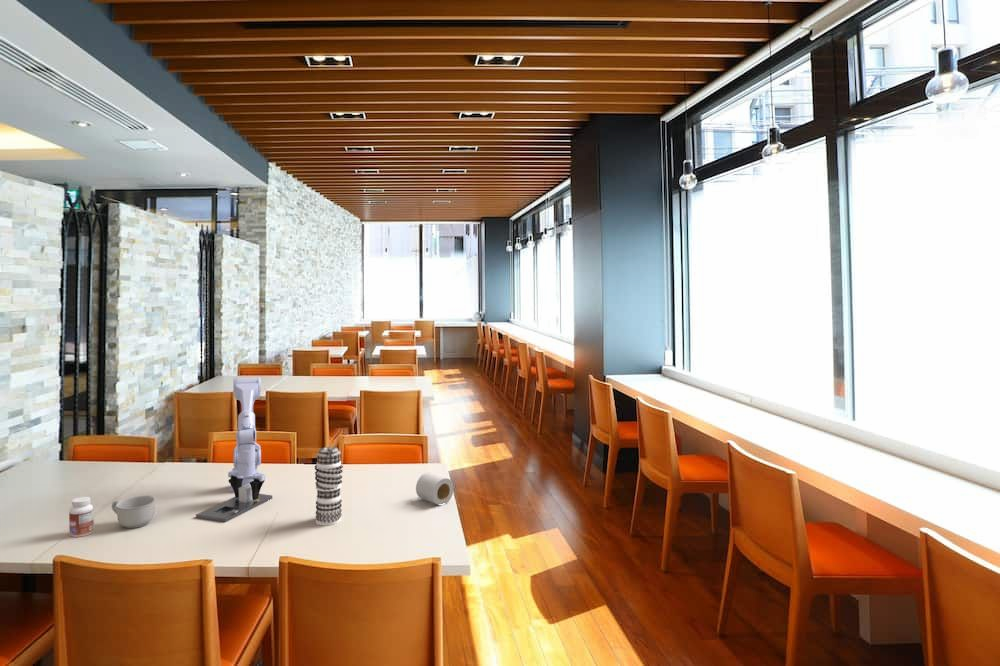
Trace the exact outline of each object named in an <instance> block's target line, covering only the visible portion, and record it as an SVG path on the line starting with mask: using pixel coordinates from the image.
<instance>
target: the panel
mask: <svg viewBox="0 0 1000 666" xmlns="http://www.w3.org/2000/svg"><path fill="white" fill-rule="evenodd" d="M270 499H271V500H273V495H271V494H264V493H259V496H258V499H256V500H251V501H249V502H247V503H244V502H239V497H238V498H236V497H235V496H233V497H231V498H229V499H226V500H225V501H223V502H221V503H218V504H216V505H213V506H211V507H209V508H207V509H205V510H202V511H200V512H198V513H196V514H195V518H196V519H201V520H206V521H214V522H220V523H227V522H229V521H231V520H234V519H235V518H237V517H240V516H242V515H243V514H245V513H247V512H249V511H251V510H253V509H255V508H257V507H259V506H260V505H263V504H265V503H267V502H269V501H271V500H270ZM268 500H269V501H268Z"/></svg>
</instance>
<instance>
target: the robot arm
mask: <svg viewBox="0 0 1000 666" xmlns="http://www.w3.org/2000/svg"><path fill="white" fill-rule="evenodd" d="M261 379H262V378H261V377H259V376H257V377H234V379H233V386H232V387H233V397H234V399H235V400H238V401H239V402H240V405H241V412H240V413H239V414H238V415H237V416H238V418H237V419H238V421H237V431H236V435H235V436H236V445H235V447H234V448H233V468H232V469H231V470H230V471H228V472H227V473H228V474H227V477H228V478H229V479H228V483H229V484H230V488H229V489H228V491H229V492H233V493H234V497H236V498H238V497H239V488H240V487H242V486H244V485H246V484H248V483H250V485H251V489H252V499H253V500H256V499H258V496H259V494H260V491H261V489H262V488H263V484H264V482H265V480H266V474H263V473H260V472H258V468H259V466H261V464H262V449H261V445H260V444H258V443H257V429H256V414H255V412H254V403H255V401H256V400H258V399H260V398H261V397H260V396H261V391H262V390H261V389H262V388H261V383H262V382H261ZM261 487H262V488H261Z"/></svg>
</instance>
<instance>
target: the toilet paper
mask: <svg viewBox="0 0 1000 666" xmlns="http://www.w3.org/2000/svg"><path fill="white" fill-rule="evenodd" d="M415 492H416V495H417V496H418V498H420V499H421V500H425V501H426V502H430V503H432V504H435V505H437V506H440V505H439V504H443V503H446V502H448V503H449V502H450V500H451V499H452V497H453V496H454V495H453V494H454V483H453V481H452V480H451V479H449V478H447V477H445V476H441V475H438V474H436V473H432V472H424V473H423V474H421V475H420V477H419V478H418V480H417V482H416V485H415ZM446 504H447V503H446Z"/></svg>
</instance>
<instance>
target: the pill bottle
mask: <svg viewBox="0 0 1000 666" xmlns="http://www.w3.org/2000/svg"><path fill="white" fill-rule="evenodd" d="M68 513H69V515H68V516H69V517H68V520H69V521H68V522H69V526H68V527H69V536H70V537H74V538H79V537H80V538H81V537H85V536H88V535H91V534H92V533H93V532H94V529H95V528H94V527H95V523H94V521H95V520H94V519H95V518H94V506H93V504H91V497H89V496H81V497H76V498H73V499H72V500H71V507H70V508H69V511H68Z"/></svg>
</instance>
